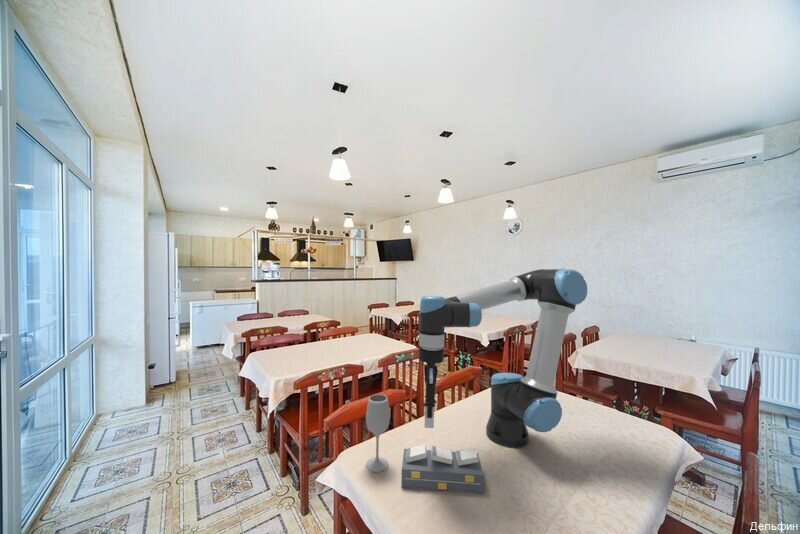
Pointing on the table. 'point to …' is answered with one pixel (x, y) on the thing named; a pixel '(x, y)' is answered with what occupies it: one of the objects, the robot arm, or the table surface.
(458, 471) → the console
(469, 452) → the rocker
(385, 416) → the wineglass
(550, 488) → the table surface
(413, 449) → the rocker
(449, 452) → the rocker
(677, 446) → the table surface
